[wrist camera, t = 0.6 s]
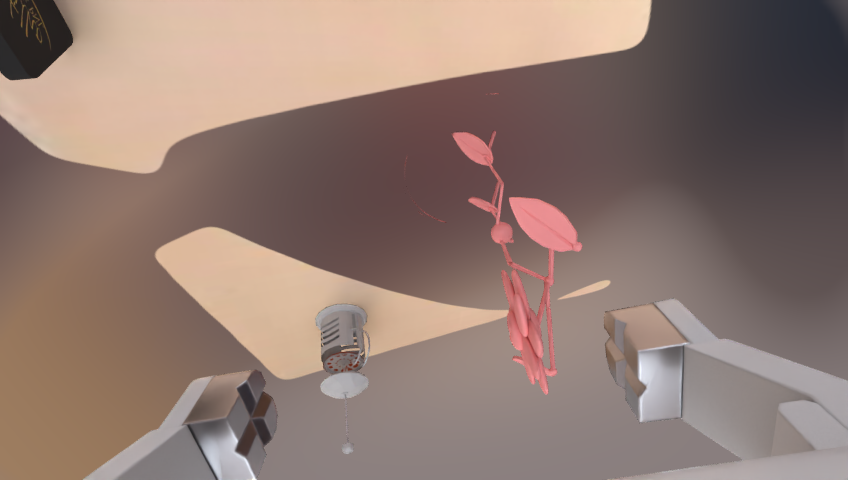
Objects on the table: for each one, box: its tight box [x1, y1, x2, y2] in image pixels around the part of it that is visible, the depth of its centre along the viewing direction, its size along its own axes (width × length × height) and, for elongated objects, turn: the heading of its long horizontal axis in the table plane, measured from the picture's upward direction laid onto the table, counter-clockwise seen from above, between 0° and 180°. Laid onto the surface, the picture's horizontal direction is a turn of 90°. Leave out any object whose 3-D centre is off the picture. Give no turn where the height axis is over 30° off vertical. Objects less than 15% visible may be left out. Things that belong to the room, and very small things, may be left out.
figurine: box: [423, 93, 582, 394], centre depth 54 cm, size 15×26×35 cm, turn 11°
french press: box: [316, 304, 370, 453], centre depth 77 cm, size 10×12×25 cm
